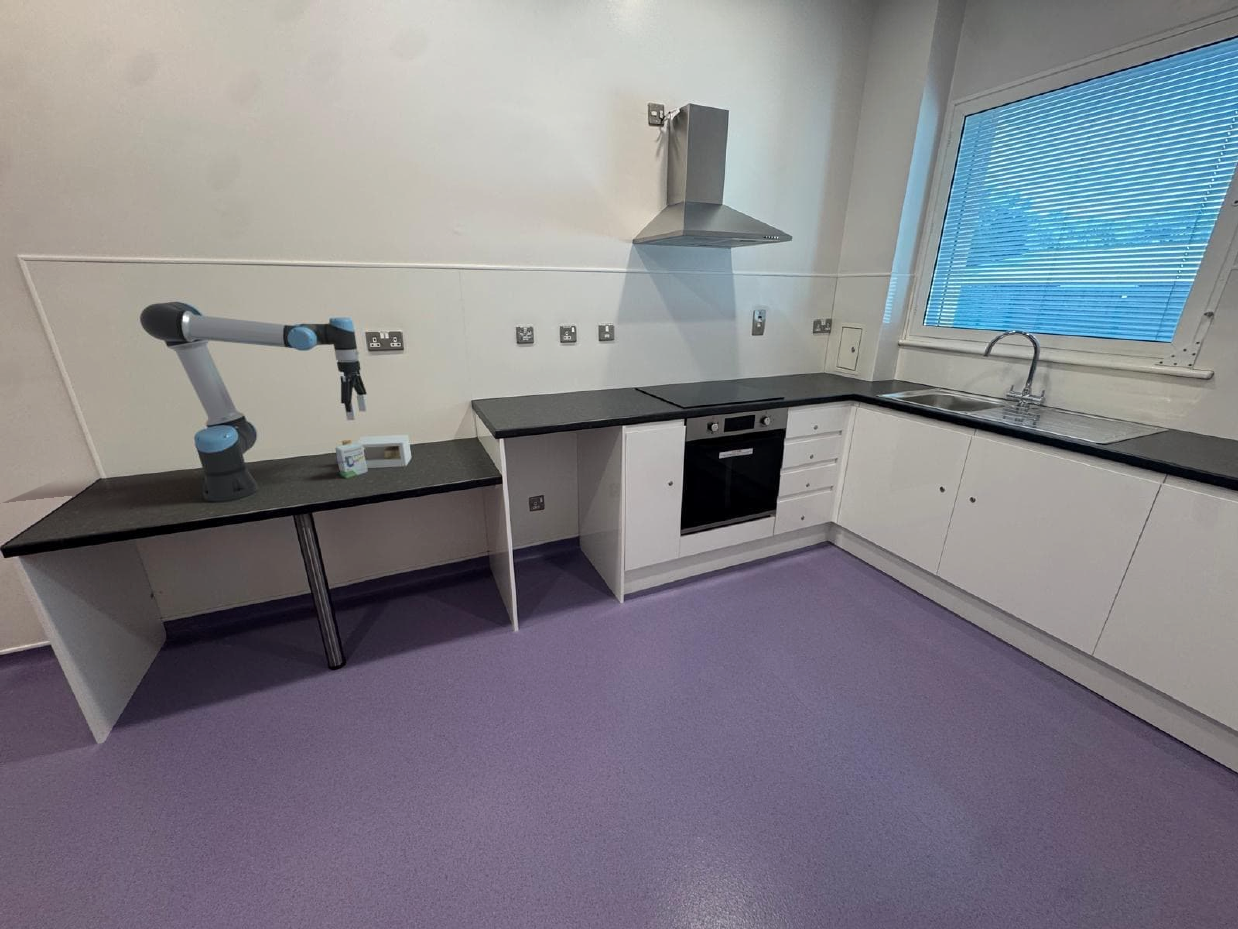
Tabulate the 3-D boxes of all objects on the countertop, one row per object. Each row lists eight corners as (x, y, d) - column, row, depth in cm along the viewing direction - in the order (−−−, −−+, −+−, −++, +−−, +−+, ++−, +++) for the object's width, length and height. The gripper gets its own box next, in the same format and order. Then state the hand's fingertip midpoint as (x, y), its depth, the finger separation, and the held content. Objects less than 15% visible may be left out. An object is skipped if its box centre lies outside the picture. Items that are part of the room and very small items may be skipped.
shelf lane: (357, 468, 199) (353, 444, 195) (365, 459, 209) (361, 436, 206) (405, 466, 202) (402, 442, 199) (411, 457, 212) (408, 434, 209)
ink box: (361, 469, 198) (356, 441, 194) (368, 472, 196) (363, 444, 191) (339, 475, 192) (334, 446, 188) (346, 478, 189) (340, 449, 185)
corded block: (344, 467, 200) (339, 443, 197) (349, 462, 206) (344, 439, 202) (401, 464, 204) (398, 441, 201) (405, 459, 210) (401, 436, 206)
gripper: (346, 365, 174) (356, 423, 181) (369, 355, 197) (377, 407, 204) (323, 365, 173) (335, 424, 180) (348, 355, 196) (357, 408, 203)
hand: (357, 415), depth 192 cm, fingers open, 13 cm apart
